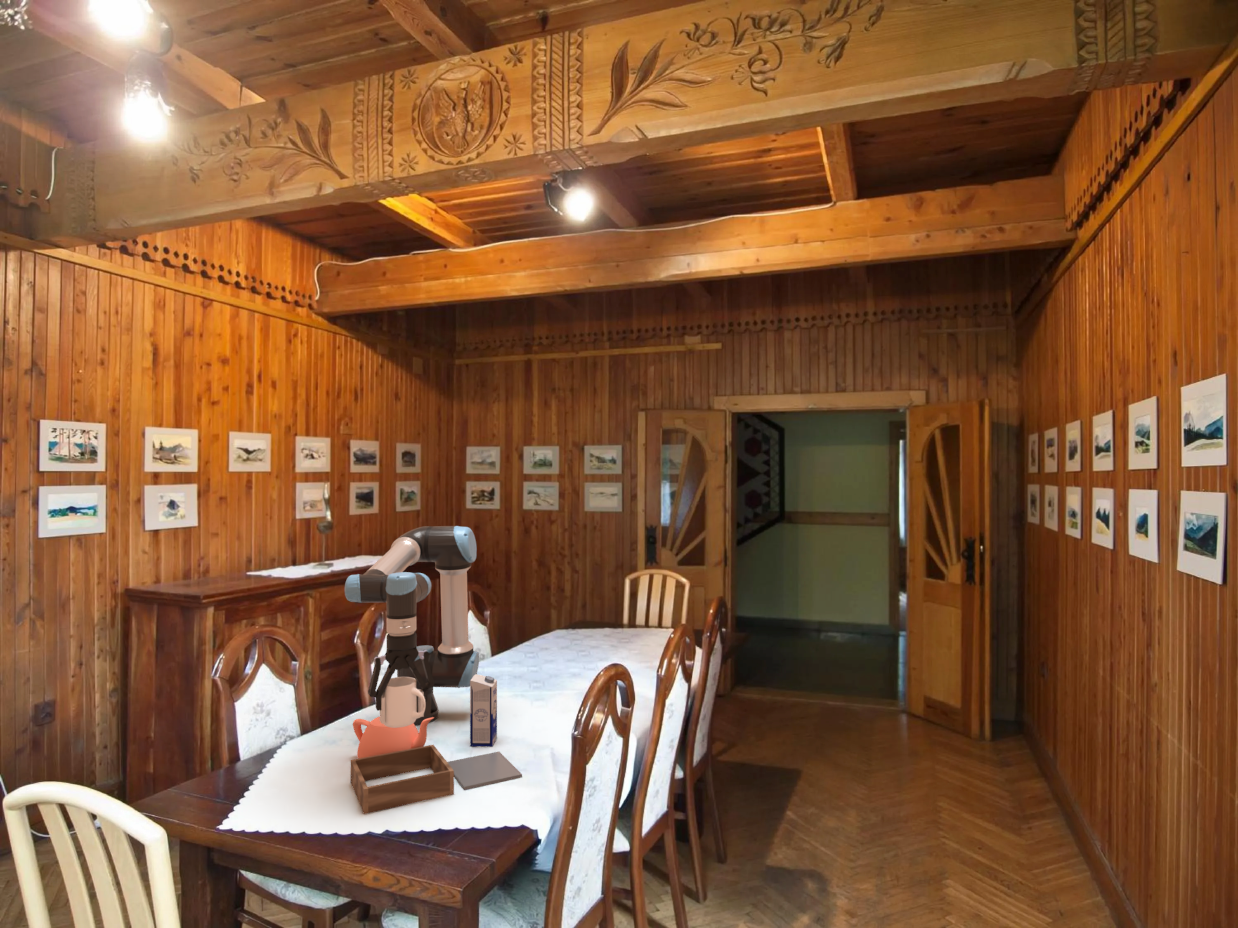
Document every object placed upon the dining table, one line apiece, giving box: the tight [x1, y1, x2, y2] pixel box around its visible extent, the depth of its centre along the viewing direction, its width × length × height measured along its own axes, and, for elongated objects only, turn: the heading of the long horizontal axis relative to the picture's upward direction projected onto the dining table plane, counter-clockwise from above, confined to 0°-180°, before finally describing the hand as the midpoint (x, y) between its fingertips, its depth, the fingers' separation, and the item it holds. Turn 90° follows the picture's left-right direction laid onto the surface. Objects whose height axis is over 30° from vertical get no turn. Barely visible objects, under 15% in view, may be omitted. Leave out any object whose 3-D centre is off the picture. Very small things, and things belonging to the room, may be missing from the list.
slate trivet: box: [447, 751, 523, 791], centre depth 198 cm, size 18×16×1 cm
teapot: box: [352, 716, 434, 759], centre depth 205 cm, size 25×17×13 cm
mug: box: [383, 676, 426, 728], centre depth 188 cm, size 9×12×11 cm
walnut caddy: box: [349, 744, 455, 815], centre depth 187 cm, size 20×22×6 cm
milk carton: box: [469, 673, 498, 748], centre depth 219 cm, size 7×7×20 cm
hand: (401, 718), depth 188 cm, fingers closed on mug, 9 cm apart
